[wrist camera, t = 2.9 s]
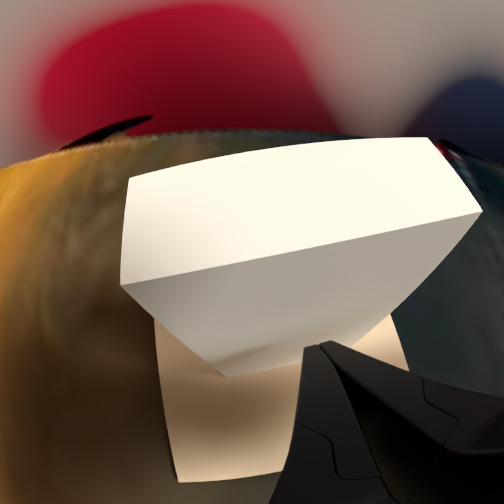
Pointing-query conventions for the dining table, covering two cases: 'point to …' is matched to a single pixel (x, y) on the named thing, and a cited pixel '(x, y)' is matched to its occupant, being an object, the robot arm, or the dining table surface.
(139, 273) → the card box
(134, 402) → the dining table surface
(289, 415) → the mat
